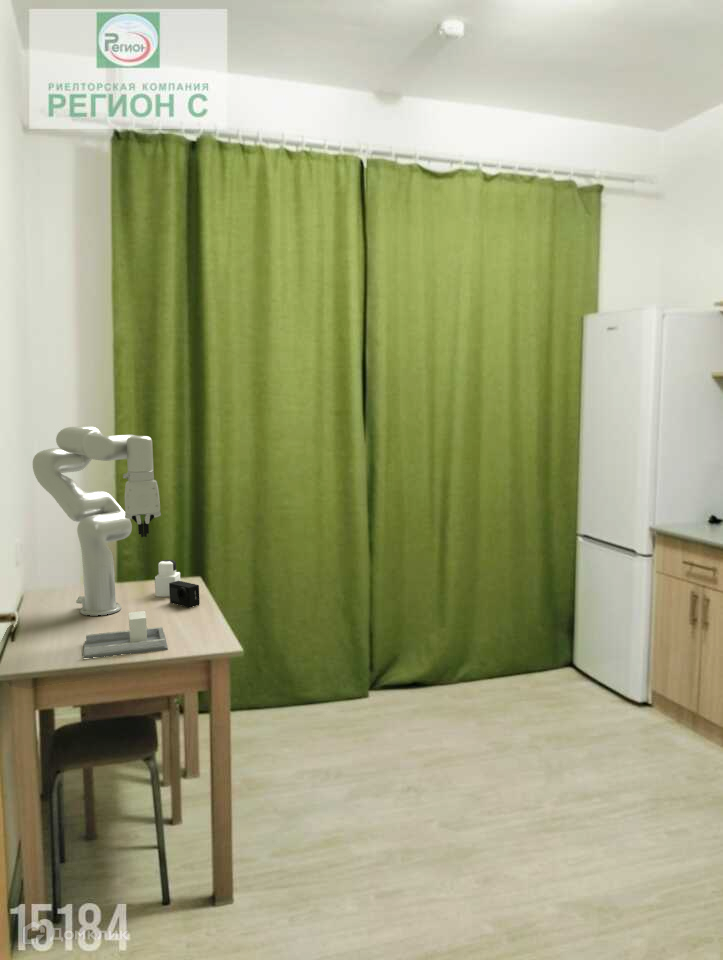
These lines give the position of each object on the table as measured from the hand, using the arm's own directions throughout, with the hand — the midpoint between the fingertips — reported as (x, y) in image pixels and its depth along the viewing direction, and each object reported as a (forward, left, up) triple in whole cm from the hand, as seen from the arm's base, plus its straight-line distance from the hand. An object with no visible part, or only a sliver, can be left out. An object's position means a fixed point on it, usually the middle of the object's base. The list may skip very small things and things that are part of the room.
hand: (143, 536), depth 231 cm
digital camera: (0, +20, -27) cm, 34 cm away
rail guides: (+7, -21, -27) cm, 35 cm away
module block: (+10, -19, -26) cm, 34 cm away
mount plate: (+7, -21, -27) cm, 35 cm away
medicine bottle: (-12, +30, -27) cm, 42 cm away
